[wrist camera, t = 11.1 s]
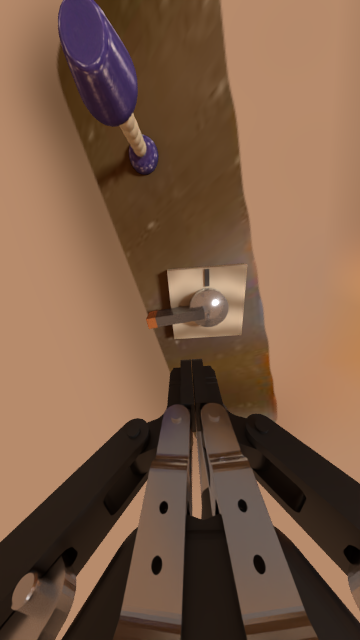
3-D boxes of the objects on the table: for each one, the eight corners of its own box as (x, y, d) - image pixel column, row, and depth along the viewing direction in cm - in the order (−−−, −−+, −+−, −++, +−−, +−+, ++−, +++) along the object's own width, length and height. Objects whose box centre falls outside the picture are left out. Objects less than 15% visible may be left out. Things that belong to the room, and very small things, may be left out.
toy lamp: (160, 178, 26) (128, 83, 10) (130, 180, 26) (56, 90, 11) (156, 135, 24) (112, -57, 8) (124, 138, 24) (23, -48, 9)
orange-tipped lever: (224, 284, 30) (229, 290, 27) (227, 319, 33) (232, 328, 30) (146, 298, 31) (142, 305, 28) (155, 331, 34) (152, 340, 31)
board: (238, 330, 36) (241, 335, 34) (174, 334, 37) (174, 339, 35) (243, 263, 31) (247, 264, 29) (167, 269, 31) (166, 271, 29)
